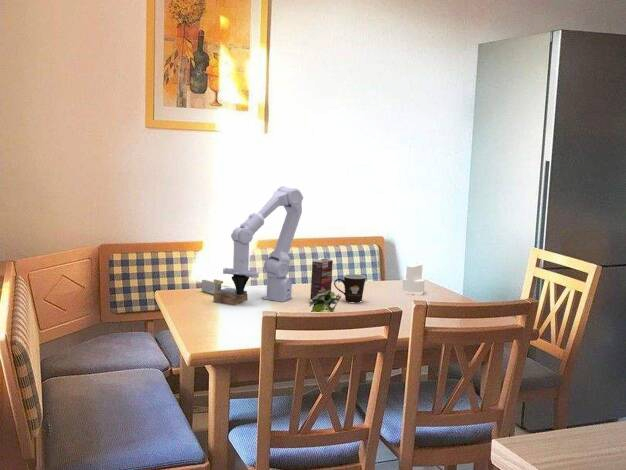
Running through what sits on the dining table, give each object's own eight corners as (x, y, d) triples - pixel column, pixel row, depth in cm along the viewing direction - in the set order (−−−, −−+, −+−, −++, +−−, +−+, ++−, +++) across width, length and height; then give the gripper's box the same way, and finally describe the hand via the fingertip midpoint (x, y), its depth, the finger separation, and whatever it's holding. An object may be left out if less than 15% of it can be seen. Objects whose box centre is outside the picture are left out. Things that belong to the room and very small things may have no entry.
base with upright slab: (408, 289, 297) (410, 262, 296) (427, 293, 292) (429, 265, 290) (398, 292, 290) (400, 265, 288) (417, 296, 285) (419, 268, 283)
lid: (240, 294, 264) (241, 289, 263) (233, 297, 259) (234, 291, 259) (227, 292, 266) (227, 287, 266) (220, 294, 262) (220, 289, 261)
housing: (247, 300, 266) (247, 290, 265) (233, 305, 257) (233, 295, 256) (227, 296, 269) (227, 287, 269) (213, 302, 260) (213, 292, 260)
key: (224, 295, 271) (224, 280, 270) (219, 296, 269) (219, 281, 268) (205, 290, 278) (205, 276, 277) (200, 291, 276) (201, 277, 275)
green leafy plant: (320, 326, 253) (332, 298, 257) (339, 328, 244) (351, 298, 248) (298, 312, 247) (312, 283, 251) (317, 313, 239) (330, 283, 243)
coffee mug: (367, 300, 274) (368, 276, 272) (359, 305, 266) (361, 279, 264) (340, 296, 278) (341, 272, 277) (332, 300, 271) (333, 276, 269)
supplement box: (320, 303, 266) (322, 262, 264) (309, 301, 269) (311, 261, 266) (331, 299, 273) (333, 260, 271) (321, 297, 276) (323, 258, 274)
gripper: (219, 258, 258) (218, 293, 260) (252, 263, 252) (251, 299, 254) (229, 255, 265) (228, 290, 267) (261, 260, 259) (260, 295, 261)
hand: (240, 294), depth 261 cm, fingers closed
